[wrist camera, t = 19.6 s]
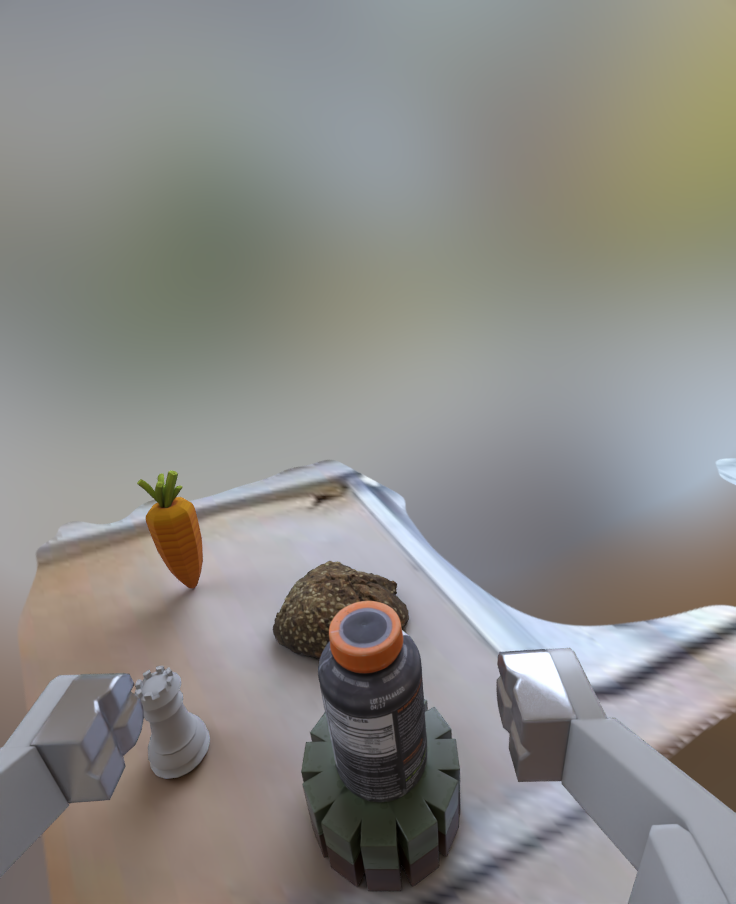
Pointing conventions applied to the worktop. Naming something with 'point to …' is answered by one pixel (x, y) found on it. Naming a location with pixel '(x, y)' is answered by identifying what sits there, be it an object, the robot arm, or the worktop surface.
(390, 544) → the worktop surface
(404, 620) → the bread roll
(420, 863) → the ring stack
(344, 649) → the pill bottle
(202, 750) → the rook chess piece
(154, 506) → the carrot
